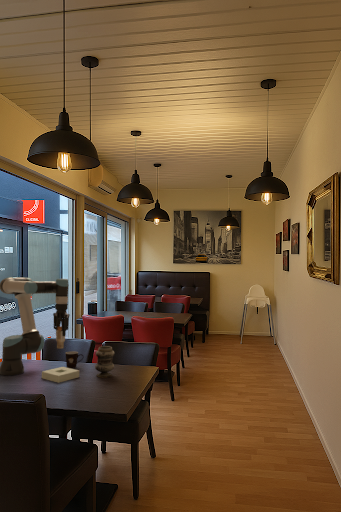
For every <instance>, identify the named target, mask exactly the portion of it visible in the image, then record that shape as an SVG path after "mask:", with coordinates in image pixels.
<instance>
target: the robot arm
mask: <svg viewBox="0 0 341 512" xmlns="http://www.w3.org/2000/svg"><path fill="white" fill-rule="evenodd" d="M0 291H1V292H2V293H3V294H7V295H14V298H15V299H16V300H17V304H18V310H19V316H20V317H19V318H20V322H21V328H22V333H21V334H15V335H9V336H6V337H4V339H3V340H2V354H1V357H2V360H1V364H0V375H1V376H15V375H21V374H23V373H24V372H25V367H24V364H23V361H22V360H23V355H28V354H36V353H39V352H41V351H42V350H43V348H44V346H45V337H44V336H43V334H40V331H39V330H37V326H36V321H35V316H34V315H35V314H34V310H33V309H34V308H33V305H32V295H39V294H55V305H54V309H55V310H56V311H55V312H53V314H52V315H53V329H54V330H55V341H56V342H57V330H58V327H61V326H62V330H61V342H63V341H64V342H65V341H66V333H67V332H66V331H68V330H69V324H70V323H69V321H70V316H71V315H70V313H67V312H68V311H67V310H68V309H69V304H68V303H69V279H68V278H56V280H55V281H53V280H51V281H50V280H49V281H34V280H33V279H32V278H30V277H23V276H22V277H6V278H5V277H4V278H3V279H2V280H1V281H0Z"/></svg>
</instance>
